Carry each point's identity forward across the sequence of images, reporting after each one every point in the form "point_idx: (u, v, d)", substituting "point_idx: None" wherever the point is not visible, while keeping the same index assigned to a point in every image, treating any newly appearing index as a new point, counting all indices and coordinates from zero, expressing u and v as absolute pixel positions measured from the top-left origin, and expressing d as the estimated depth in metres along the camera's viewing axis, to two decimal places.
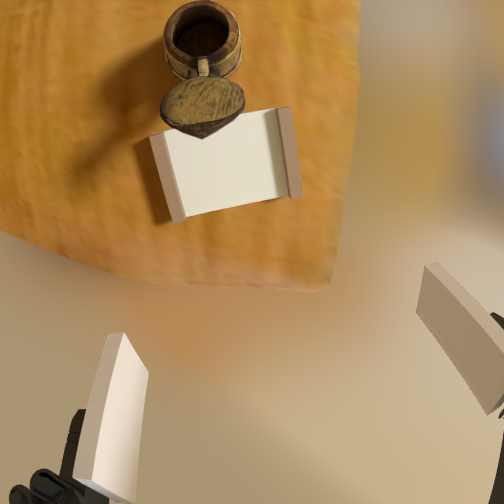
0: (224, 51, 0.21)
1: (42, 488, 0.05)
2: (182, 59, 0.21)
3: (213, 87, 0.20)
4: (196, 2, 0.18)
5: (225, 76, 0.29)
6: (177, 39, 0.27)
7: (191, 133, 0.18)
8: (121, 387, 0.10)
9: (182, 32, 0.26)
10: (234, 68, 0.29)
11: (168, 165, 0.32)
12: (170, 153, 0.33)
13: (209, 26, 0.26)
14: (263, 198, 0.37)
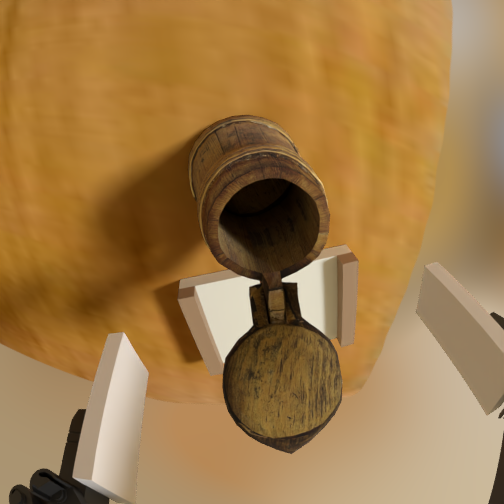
0: (307, 264, 0.15)
1: (42, 488, 0.05)
2: None
3: (297, 353, 0.14)
4: (264, 171, 0.13)
5: None
6: None
7: (278, 448, 0.12)
8: (121, 387, 0.10)
9: None
10: None
11: (204, 328, 0.27)
12: (204, 308, 0.28)
13: None
14: None
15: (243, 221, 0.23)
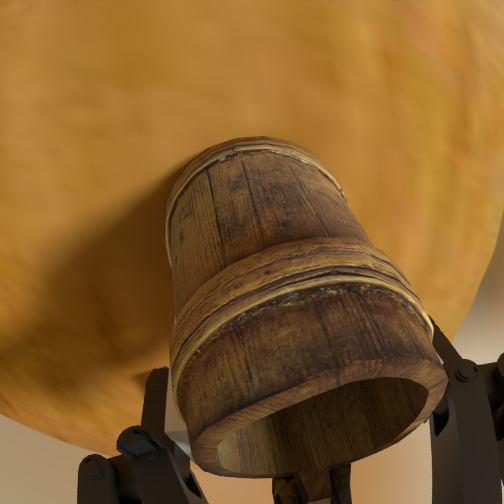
0: (375, 452, 0.07)
1: (132, 446, 0.06)
2: None
3: None
4: (342, 373, 0.04)
5: None
6: None
7: None
8: None
9: None
10: None
11: None
12: None
13: None
14: None
15: None
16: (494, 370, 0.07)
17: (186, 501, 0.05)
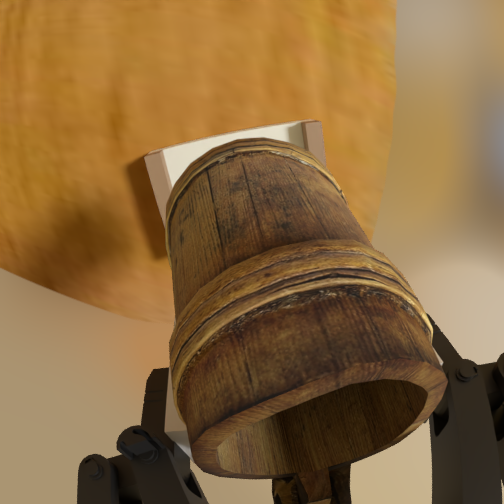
0: (374, 452, 0.07)
1: (132, 446, 0.06)
2: None
3: None
4: (341, 376, 0.04)
5: None
6: None
7: None
8: None
9: None
10: None
11: (168, 193, 0.26)
12: (171, 177, 0.27)
13: None
14: None
15: None
16: (494, 371, 0.07)
17: (186, 501, 0.05)
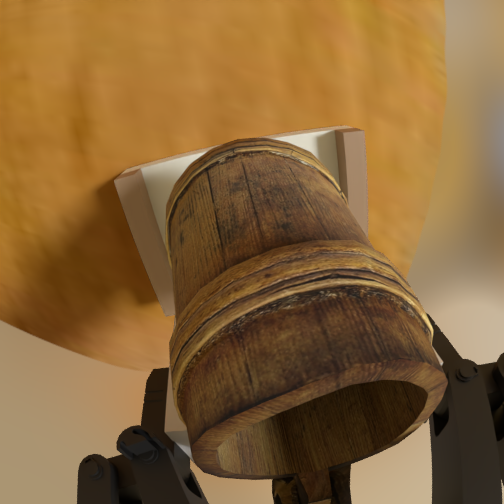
0: (375, 453, 0.07)
1: (132, 446, 0.06)
2: None
3: None
4: (342, 376, 0.04)
5: None
6: None
7: None
8: None
9: None
10: None
11: (150, 230, 0.19)
12: (153, 205, 0.20)
13: None
14: None
15: None
16: (494, 370, 0.07)
17: (186, 501, 0.05)
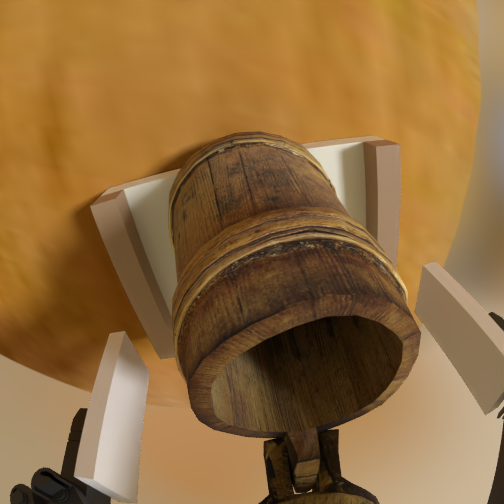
0: (360, 414, 0.08)
1: (43, 487, 0.05)
2: None
3: None
4: (317, 305, 0.05)
5: None
6: None
7: None
8: (122, 386, 0.10)
9: None
10: None
11: (137, 266, 0.15)
12: (141, 234, 0.16)
13: None
14: None
15: None
16: None
17: None
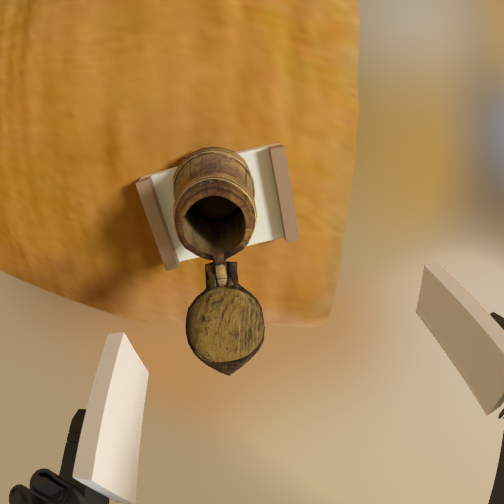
0: (241, 249, 0.24)
1: (42, 488, 0.05)
2: None
3: (233, 306, 0.23)
4: (207, 192, 0.21)
5: None
6: None
7: (219, 370, 0.21)
8: (121, 387, 0.10)
9: None
10: None
11: (157, 212, 0.32)
12: (159, 198, 0.32)
13: None
14: (258, 241, 0.36)
15: (212, 224, 0.32)
16: None
17: None
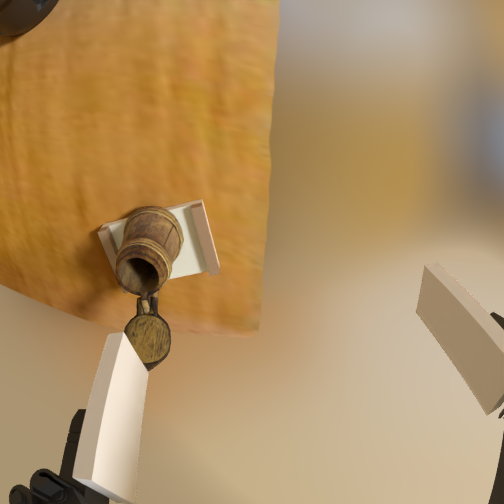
0: (158, 290, 0.34)
1: (42, 488, 0.05)
2: None
3: (152, 327, 0.33)
4: (131, 255, 0.32)
5: None
6: None
7: None
8: (121, 387, 0.10)
9: None
10: (177, 256, 0.43)
11: (114, 253, 0.42)
12: (115, 241, 0.42)
13: None
14: (190, 273, 0.47)
15: None
16: None
17: None
